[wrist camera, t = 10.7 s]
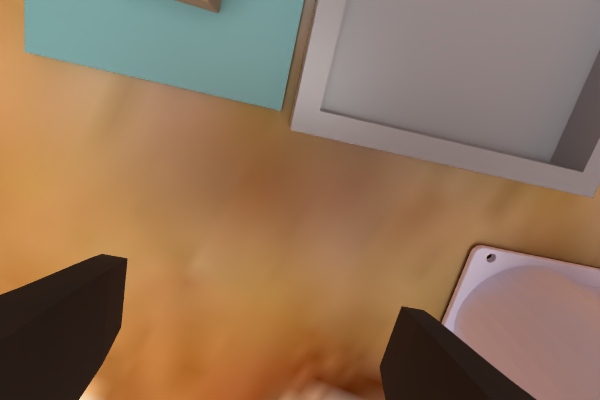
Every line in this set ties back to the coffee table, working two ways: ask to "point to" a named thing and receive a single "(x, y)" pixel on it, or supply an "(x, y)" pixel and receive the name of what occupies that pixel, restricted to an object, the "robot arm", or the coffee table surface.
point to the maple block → (204, 4)
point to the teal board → (174, 42)
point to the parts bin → (460, 84)
